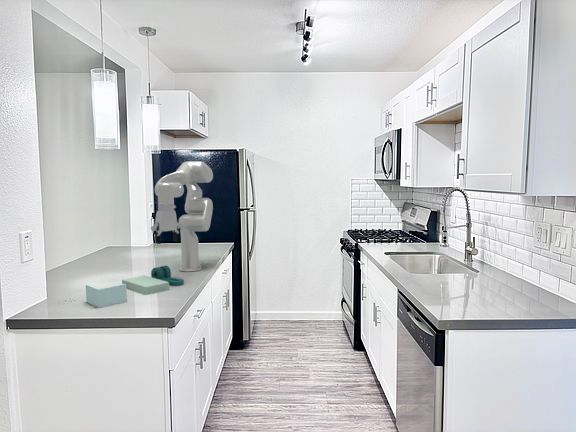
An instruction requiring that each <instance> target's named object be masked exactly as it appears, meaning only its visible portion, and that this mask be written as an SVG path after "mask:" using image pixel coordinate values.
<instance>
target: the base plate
mask: <svg viewBox="0 0 576 432" xmlns="http://www.w3.org/2000/svg"><path fill="white" fill-rule="evenodd" d="M121 284H126V289H127V290H131V291H133V292H136V293H138V294H139V293H140V294H142V295H145V296H146V295H152V294H157V293H161V292H165V291H169V290H170V286H169V282H166V281H163V280H159V279H156V278H152V277H151V276H148V275H140V276H133V277H129V278H125V279H123V278H122V279H121Z"/></svg>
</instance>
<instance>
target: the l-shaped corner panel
mask: <svg viewBox="0 0 576 432" xmlns="http://www.w3.org/2000/svg"><path fill="white" fill-rule="evenodd" d="M127 290H128V289H127V288H126V284H122V283H121V284H118V285H112V286H107V287H102V288H99V287H96V286H93V285H91V284H85V296H86V297H85V299H86V303H88V304H90V305H92V306H94V307H97V308H103V307H108V306H112V305H113V306H114V305H116V304H121V303H127V302H128V295H127V292H128V291H127Z"/></svg>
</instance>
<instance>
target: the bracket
mask: <svg viewBox="0 0 576 432" xmlns="http://www.w3.org/2000/svg"><path fill="white" fill-rule="evenodd" d="M150 277H152V278H156V279H159V280H163V281H166V282H169V287H181V286H183V285H185V283H184V282H185V280H184V279H183V278H177V277H172V271H171V269H170V267H169V266H168V265H162V266H156V267H154V268H152V269H151V272H150Z"/></svg>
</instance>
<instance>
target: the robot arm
mask: <svg viewBox="0 0 576 432" xmlns="http://www.w3.org/2000/svg"><path fill="white" fill-rule="evenodd" d="M213 179H214V172H213V171H212V168H211V167H210V166H209V165H208V164H206V163H205V162H204V161H202V160H201V161H200V160H199V161H198V160H197V161H196V160H195V161H194V160H192V161H183V162H182V163H181V165H180V166H179V167H178V168H177V169H176V171H174V172H172V173H169V174H166V175H165V176H163V177H161V178H159V180H158V181H157V182H156V184H155V185H154V194H155V195H156V196H157V211H156V214H155V221H154V222H155V223H154V224H153V225H152V226H150V230H151V232H152V234H153V235H154V236H155V243H156V244H157V245H161V244H162V236H161V234H162V233H163V232H173V233H172V242H176V243H177V242H179V234H180V243H181V244H180V248H181V249H180V250H181V253H180V254H181V266H180V267H179V268H178V271H180V272H184V273H185V272H187V273H188V272H198V271H201V270H202V265H206V260H199V259H200V257H199V254H200V253H199V237H198V236H197V234H196V232H208V231H209V229H210V227H211V224H212V223H211V221H212V218H213V217H212V216H213V210H214V206H213V205H214V204H213V201H212V199H210V198H209V197H203V189H201V187H200V186H199V185H198V183H201V184H203V183H207V184H208V183H211V182H212V180H213ZM184 185H185V186H186V189H187V193H186V197H185V204H184V211H185V213H186V214H182V215H181V216H180V217H179V218H177V213H176V210H175V209H176V208H177V206H176V205H175V198H180V197H182V196H183V194H184V192H185V187H184Z"/></svg>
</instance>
